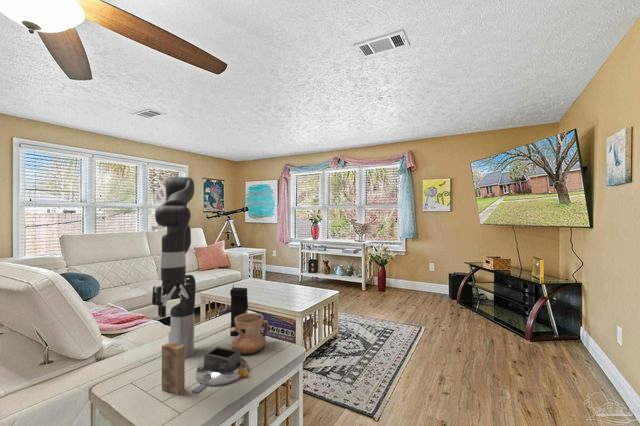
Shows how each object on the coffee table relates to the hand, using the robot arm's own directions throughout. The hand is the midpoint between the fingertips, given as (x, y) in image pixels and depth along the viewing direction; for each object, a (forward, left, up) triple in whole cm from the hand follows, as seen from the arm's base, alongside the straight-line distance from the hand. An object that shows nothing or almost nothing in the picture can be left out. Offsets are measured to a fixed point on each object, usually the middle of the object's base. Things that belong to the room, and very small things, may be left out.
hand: (173, 313), depth 101 cm
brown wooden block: (0, 0, -26) cm, 26 cm away
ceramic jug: (+6, +35, -26) cm, 44 cm away
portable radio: (-8, +47, -26) cm, 54 cm away
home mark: (+8, +3, -26) cm, 27 cm away
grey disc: (+8, +15, -26) cm, 31 cm away
